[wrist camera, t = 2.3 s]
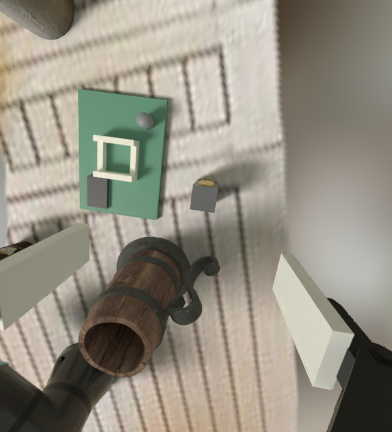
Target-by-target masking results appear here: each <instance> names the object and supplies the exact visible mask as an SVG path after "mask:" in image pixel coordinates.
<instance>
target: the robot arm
mask: <svg viewBox="0 0 392 432" xmlns="http://www.w3.org/2000/svg"><path fill="white" fill-rule="evenodd" d="M88 261H89V224H84V223H77V224H75V225H73V226H70V227H68V228H66V229H64V230H62V231H60V232H58V233H56V234H54V235H52V236H50V237H48V238H46V239H44V240H42V241H40V242H38V243H36V244H34V245H32V246H30V247H27V248H25V249H23V250H21V251H19V252H16V253H13V254H10V255H8V256H6V257H4V258H2V260H1V259H0V330H2V331H5V330H6V329H7V328H8V327H9V326H11V325H12V324H13V323H14V322H15V321H17V320H18V319H19V318H20V317H21V316H23V315H24V314H25V313H26V312H27V311H29V310H30V309H31V308H32V307H34V306H35V305H36V304H37V303H38V302H40V301H41V300H42V299H43V298H44V297H46V296H47V295H48V294H49V293H50V292H52V291H53V290H54V289H55V288H56V287H58V286H59V285H60V284H61V283H63V282H64V281H65V280H66V279H67V278H69V277H70V276H71V275H72V274H73V273H75V272H76V271H77V270H78V269H79V268H81V267H82V266H83V265H84V264H85V263H87V262H88ZM272 290H273V292H274V295H275V297H276V300H277V302H278V304H279V307H280V309H281V312H282V314H283V316H284V319H285V321H286V324H287V326H288V328H289V331H290V333H291V336H292V338H293V340H294V343H295V345H296V348H297V350H298V352H299V355H300V357H301V359H302V362H303V364H304V367H305V369H306V372H307V374H308V376H309V379H310V381H311V384H312V386H313V387H319V388H325V389H330V390H332V389H333V387H334V384H335V381H336V379H338V381H339V383H340V385H341V387H342V391H341V394H340V396H339V399H338V401H337V404H336V406H335V408H334V413H333V416H332V418H331V421H330V424H329V426H328V429H327V432H392V351H390V350H388V349H386V348H385V347H383V346H381V345H379V344H376V343H372V342H371V341H370V339H369V338H368V337H367V336H366V334H365V333H364V332H363V331H362V330H361V328H360V327H359V326H358V325H357V324H356V323H355V322H354V320H353V319H352V318H351V316H350V315H348V313H347V312H346V311H345V309H344V308H343V307H342V306H341V305H340V304H339V303H337V302H336V301H335V300H333V299H331V298H326V297H325V296H324V294H323V293H322V292H321V290H320V289H319V288H318V287H317V285H316V284H315V283H314V281H313V280H312V279H311V278H310V276H309V275H308V273H307V272H306V271H305V270H304V269H303V267H302V266H301V264H300V263H299V262H298V261H297V259H296V258H295V257H294V255H291V254H284V253H281V256H280V260H279V264H278V268H277V272H276V276H275V280H274V284H273V288H272ZM114 378H115V376H112V375H109V374H107V373H105V372H103V371H101V370H99V369H97V368H95V367H93V366H91V365H90V364H89V363H88V362H87V361H86V359H85V358H84V356H83V355H82V353H81V351H80V348H79V344H74V345H71V346H69V347H67V348H66V349H65V350H64V351H63V352H62V353H61V355H60V356H59V357H58V359H57V360H56V362H55V365H54V367H53V370H52V372H51V375H50V378H49V380H48V383H47V385H46V387H45V388H44V390H43V391H41V390H40V389H39V388H37V387H36V386H35V385H33V384H32V383H31V382H29V381H28V380H27V379H25V378H24V377H23V376H22V375H20V374H19V373H18V372H16V371H15V370H14V369H13V368H11V367H10V366H9V363H8V362H4V361H2V360H1V359H0V432H81V431H82V429H83V427H84V425H85V422H86V420H87V418H88V416H89V414H90V412H91V410H92V409H93V407H94V406H95V405H96V404H97V403H98V402H99V400H100V399H101V398H102V397H103V396H104V395H105V393H106V392H107V391H108V390H109V388H110V387H111V385H112V382H113V380H114Z"/></svg>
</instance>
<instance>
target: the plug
mask: <svg viewBox="0 0 392 432" xmlns="http://www.w3.org/2000/svg"><path fill="white" fill-rule="evenodd" d="M217 193H218V183H217V182H214V181H208V180H197V181H196V182H195V183H194V184H193V190H192V198H191V206H190V209H192V210H199V211H205V212H212V213H214V212H215V206H216V200H217Z"/></svg>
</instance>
